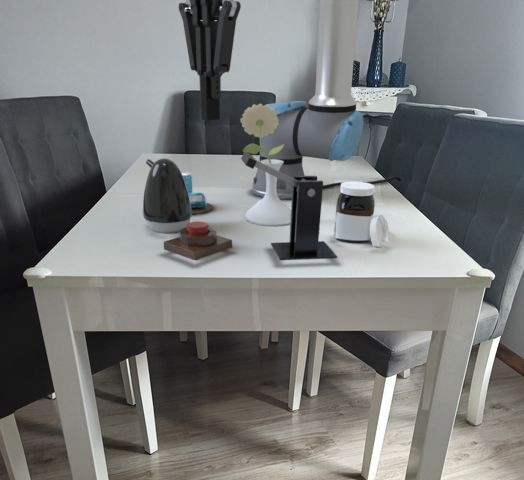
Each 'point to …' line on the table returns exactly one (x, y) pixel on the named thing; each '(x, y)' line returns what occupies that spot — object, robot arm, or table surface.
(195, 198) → the teal cans on tray
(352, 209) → the spread jar
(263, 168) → the pivoting lever
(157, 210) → the pump dispenser
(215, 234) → the switch box
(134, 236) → the table surface
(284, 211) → the flower in vase
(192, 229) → the red push button
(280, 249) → the lever bracket
